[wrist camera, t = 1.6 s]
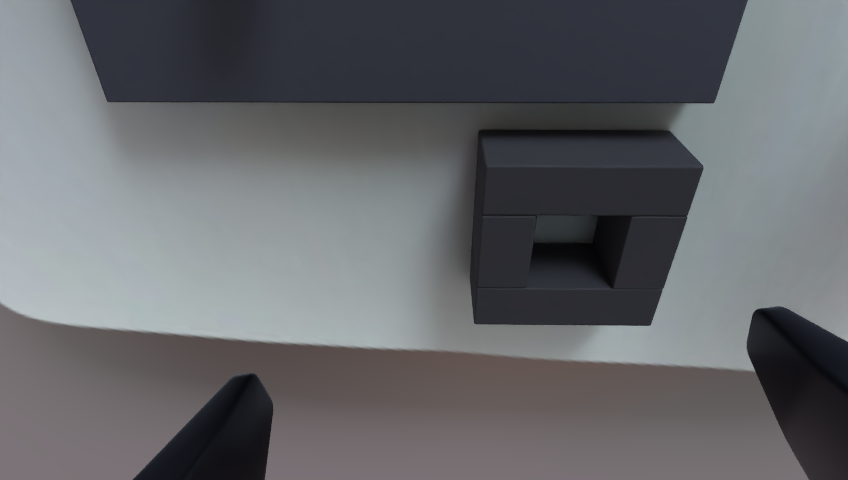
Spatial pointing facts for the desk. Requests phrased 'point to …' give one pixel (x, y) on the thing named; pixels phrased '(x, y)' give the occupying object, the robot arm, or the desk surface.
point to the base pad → (410, 50)
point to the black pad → (577, 195)
